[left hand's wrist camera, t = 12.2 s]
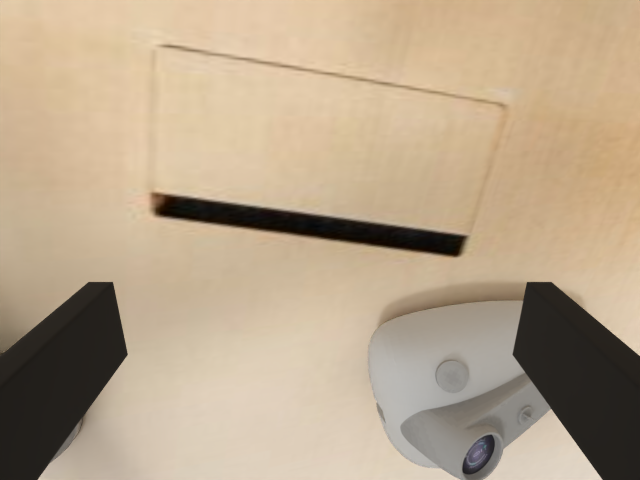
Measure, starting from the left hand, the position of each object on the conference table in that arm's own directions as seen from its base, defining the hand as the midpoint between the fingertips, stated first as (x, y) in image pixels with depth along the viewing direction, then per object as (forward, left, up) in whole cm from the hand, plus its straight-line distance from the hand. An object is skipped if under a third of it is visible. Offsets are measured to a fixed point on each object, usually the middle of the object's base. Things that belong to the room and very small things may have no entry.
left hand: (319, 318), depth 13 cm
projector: (-3, -27, -28) cm, 38 cm away
